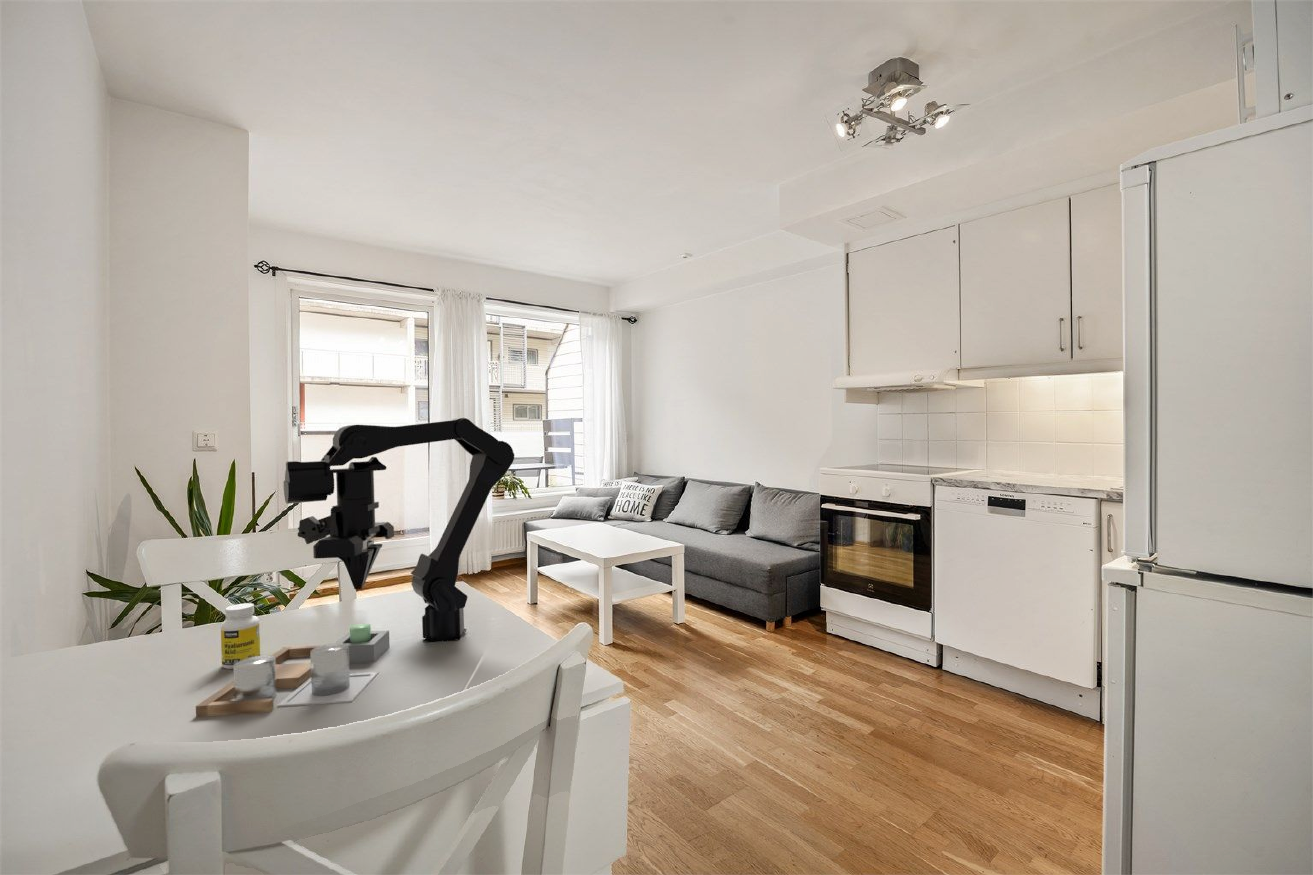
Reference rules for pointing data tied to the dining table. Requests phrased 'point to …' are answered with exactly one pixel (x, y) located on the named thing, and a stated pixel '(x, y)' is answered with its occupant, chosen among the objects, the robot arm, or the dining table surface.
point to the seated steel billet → (255, 678)
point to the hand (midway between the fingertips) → (358, 589)
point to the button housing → (367, 647)
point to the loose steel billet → (330, 669)
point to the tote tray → (307, 698)
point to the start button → (360, 633)
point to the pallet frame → (284, 679)
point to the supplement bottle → (239, 635)
